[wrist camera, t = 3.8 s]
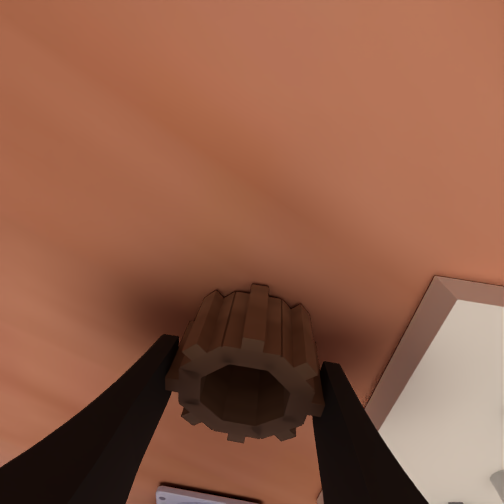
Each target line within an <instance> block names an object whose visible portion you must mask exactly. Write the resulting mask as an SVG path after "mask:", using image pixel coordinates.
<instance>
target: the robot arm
mask: <svg viewBox="0 0 504 504" xmlns="http://www.w3.org/2000/svg"><path fill="white" fill-rule="evenodd" d="M178 349H179V337H178V336H172V335H167V334H163V335H162V336H161V337H160V338H159V339H158V340H157V341H156V342H155V343H154V344H153V345H152V346H151V347H150V349H149V350H148V351H147V352H146V353H145V354H144V355H143V356H142V357H141V358H140V359H139V360H138V361H137V362H136V363H135V364H134V365H133V366H132V367H131V368H129V369H128V370H127V371H126V372H125V373H124V374H123V375H122V376H121V377H120V378H119V379H118V380H117V381H116V382H115V383H113V384H112V385H111V386H110V387H109V388H108V389H107V390H105V391H104V392H103V393H102V394H101V395H100V396H99V397H97V398H96V399H95V400H94V401H93V402H91V403H90V404H89V405H88V406H87V407H85V408H84V409H83V410H82V411H80V412H79V413H78V414H76V415H75V416H74V417H73V418H71V419H70V420H69V421H67V422H66V423H65V424H63V425H62V426H61V427H59V428H58V429H56V430H55V431H54V432H52V433H51V434H50V435H48V436H47V437H45V438H44V439H43V440H41V441H40V442H38V443H37V444H35V445H34V446H33V447H31V448H30V449H28V450H27V451H25V452H24V453H22V454H20V455H19V456H17V457H16V458H14V459H13V460H11V461H10V462H8V463H7V464H5V465H3V466H2V467H0V504H126V501H127V498H128V495H129V493H130V490H131V487H132V484H133V482H134V479H135V476H136V473H137V471H138V468H139V466H140V463H141V461H142V458H143V456H144V454H145V452H146V449H147V447H148V445H149V443H150V440H151V438H152V436H153V434H154V432H155V429H156V427H157V425H158V423H159V420H160V418H161V416H162V414H163V412H164V409H165V407H166V405H167V403H168V400H169V398H170V395H171V392H172V391H168V390H165V376H166V375H167V373H168V371H169V369H170V367H171V365H172V362H173V360H174V358H175V356H176V353H177V351H178ZM320 379H321V385H322V392H323V398H324V402H325V407H324V410H323V412H322V415H321V417H316V416H313V427H314V435H315V442H316V449H317V456H318V463H319V470H320V477H321V484H322V492H323V501H324V504H429V503H428V502H427V500H426V499H425V498H424V496H423V495H422V494H421V492H420V491H419V490H418V489H417V487H416V486H415V485H414V483H413V482H412V480H411V479H410V478H409V476H408V475H407V474H406V472H405V471H404V470H403V468H402V467H401V465H400V464H399V462H398V461H397V460H396V458H395V457H394V455H393V454H392V452H391V451H390V449H389V448H388V446H387V445H386V443H385V442H384V440H383V439H382V437H381V436H380V434H379V432H378V431H377V429H376V428H375V426H374V424H373V423H372V421H371V419H370V418H369V416H368V414H367V413H366V411H365V409H364V408H363V406H362V404H361V402H360V401H359V399H358V397H357V395H356V394H355V392H354V390H353V388H352V386H351V385H350V383H349V381H348V379H347V377H346V375H345V373H344V371H343V370H342V368H341V366H340V365H339V364H337V363H331V362H326V361H324V362H323V364H322V367H321V370H320ZM156 503H157V504H258V503H253V502H248V501H243V500H237V499H232V498H226V497H221V496H216V495H210V494H205V493H200V492H194V491H189V490H183V489H178V488H173V487H167V486H159V487H158V488H157V491H156Z"/></svg>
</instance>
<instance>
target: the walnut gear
mask: <svg viewBox="0 0 504 504" xmlns="http://www.w3.org/2000/svg"><path fill="white" fill-rule="evenodd" d="M268 291H269V287H267V286H261V285H255V284H252V287H251V293H250V294H248V293H242V292H236V293H235V292H234V293H232V294H230V295H229V296H227V297H225V298H223V297H222V296H221V295H220V294H219V293H218V291H217V290H216V291H214V292H213V293H211V294H210V295H208V296H206V297H205V298H204V300H203V302H202V305H201V307H200V309H199V312H198V314H197V316H196V319H195V321H194V322H193V321H190V322H189V324H188V327H187V329H186V331H185V333H184V336H183V338H182V340H181V342H180V345H179V349H178V351H177V353H176V356H175V358H174V360H173V362H172V365H171V367H170V369H169V371H168V373H167V375H166V376H165V390H168V391H174V392H179V404H180V405H182V406H183V407H184V409H183V412H182V415H181V417H183V418H184V419H185V420H186V421H188V422H189V423H190V424H191V425H196V424H198V423H201V422H202V423H204V424H205V425H206V426H207V427H209V428H210V429H211V430H213V429H214V431H218V432H223V433H228V438H227V440H228V441H234V442H239V443H244V440H245V437H251V438H257V439H260V438H261V439H263V438H266V437H269V436H272V435H275V436H276V437H277V438H278V439H279V440H280V441H284V440H287V439H290V438H293V437H296V427H299V426H302V424H304V421H305V419H306V416H307V415H311V416H316V417H321V415H322V412H323V410H324V407H325V402H324V398H323V392H322V385H321V379H320V367H319V360H318V354H317V347H316V342H314V341H313V334H312V327H311V320H310V315H309V314H308V312H307V311H306V310H305V309H304V307H303V306H302V305H301V304H300V305H298V306H296V307H294V308H292V309H290V308H289V307H288V305H287V304H286V303H285V302H284V301H283V300H281V299H279V298H273V297H268Z"/></svg>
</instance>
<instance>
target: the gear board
mask: <svg viewBox="0 0 504 504" xmlns="http://www.w3.org/2000/svg"><path fill="white" fill-rule="evenodd" d="M365 411H366V413H367V414H368V416H369V418H370V419H371V421H372V423H373V424H374V426H375V428H376V429H377V431H378V432H379V434H380V436H381V437H382V439H383V440H384V442H385V443H386V445H387V446H388V448H389V449H390V451H391V452H392V454H393V455H394V457H395V458H396V460H397V461H398V462H399V464H400V465H401V467H402V468H403V470H404V471H405V472H406V474H407V475H408V476H409V478H410V479H411V480H412V482H413V483H414V485H415V486H416V487H417V489H418V490H419V491H420V492H421V494H422V495H423V496H424V498H425V499H426V500H427V502H428V503H429V504H504V287H503V286H497V285H491V284H484V283H478V282H472V281H466V280H459V279H453V278H447V277H440V276H435V277H434V278H433V280H432V282H431V284H430V286H429V288H428V290H427V292H426V294H425V295H424V297H423V299H422V301H421V303H420V305H419V307H418V309H417V311H416V313H415V314H414V316H413V318H412V320H411V322H410V324H409V326H408V328H407V330H406V332H405V333H404V335H403V337H402V339H401V341H400V343H399V345H398V347H397V349H396V351H395V352H394V354H393V356H392V358H391V360H390V362H389V364H388V366H387V368H386V370H385V371H384V373H383V375H382V377H381V379H380V381H379V383H378V385H377V387H376V389H375V390H374V392H373V394H372V396H371V398H370V400H369V402H368V404H367V406H366V408H365ZM317 504H324V501H323V492H322V491H321V493H320V495H319V497H318V499H317Z"/></svg>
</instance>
